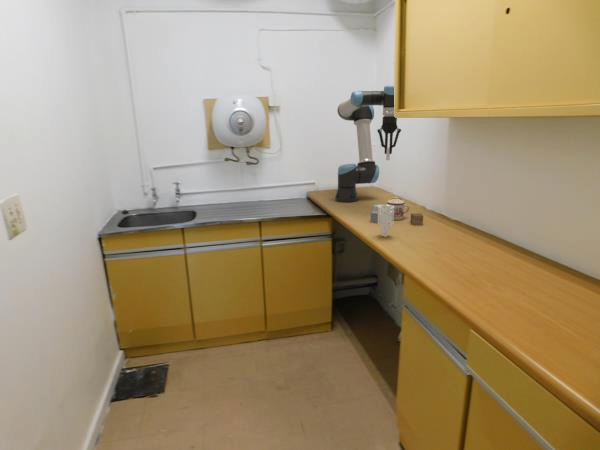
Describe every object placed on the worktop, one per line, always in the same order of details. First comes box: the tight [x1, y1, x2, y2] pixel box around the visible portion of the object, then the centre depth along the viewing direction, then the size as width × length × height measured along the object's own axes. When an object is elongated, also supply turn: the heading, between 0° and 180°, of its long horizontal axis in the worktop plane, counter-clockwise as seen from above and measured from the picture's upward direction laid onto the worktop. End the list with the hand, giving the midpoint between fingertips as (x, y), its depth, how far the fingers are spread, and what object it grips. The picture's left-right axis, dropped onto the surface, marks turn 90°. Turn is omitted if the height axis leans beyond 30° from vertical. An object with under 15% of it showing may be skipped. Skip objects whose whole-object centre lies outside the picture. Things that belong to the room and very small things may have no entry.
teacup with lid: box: [386, 196, 410, 221], centre depth 200 cm, size 12×9×12 cm
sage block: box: [372, 204, 386, 212], centre depth 209 cm, size 5×5×5 cm
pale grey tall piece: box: [377, 204, 395, 238], centre depth 169 cm, size 7×7×15 cm
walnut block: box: [409, 212, 424, 226], centre depth 189 cm, size 5×5×5 cm
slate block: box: [369, 210, 378, 224], centre depth 195 cm, size 5×5×5 cm
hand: (387, 159), depth 208 cm, fingers closed
